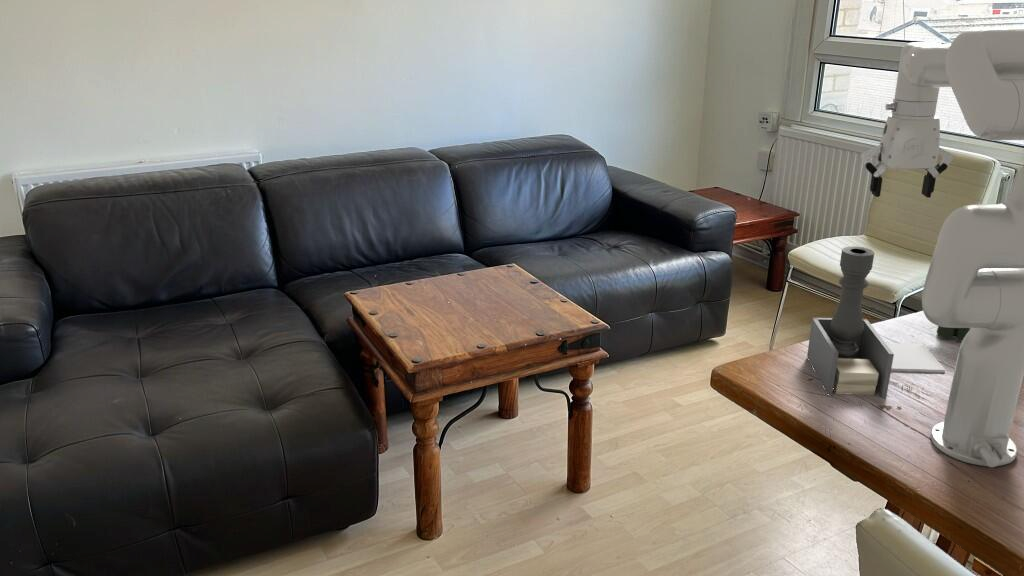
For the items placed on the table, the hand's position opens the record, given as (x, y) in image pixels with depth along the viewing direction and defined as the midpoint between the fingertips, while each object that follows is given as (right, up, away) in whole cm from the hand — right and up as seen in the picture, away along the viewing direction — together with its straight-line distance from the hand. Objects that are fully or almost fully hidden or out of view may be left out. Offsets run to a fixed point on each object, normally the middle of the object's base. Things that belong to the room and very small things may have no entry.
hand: (900, 195), depth 163 cm
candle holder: (-12, -35, -1) cm, 37 cm away
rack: (-13, -36, -3) cm, 38 cm away
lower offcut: (-13, -38, -7) cm, 41 cm away
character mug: (+17, -29, +13) cm, 36 cm away
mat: (+2, -33, +4) cm, 33 cm away
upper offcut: (-13, -36, -8) cm, 39 cm away
